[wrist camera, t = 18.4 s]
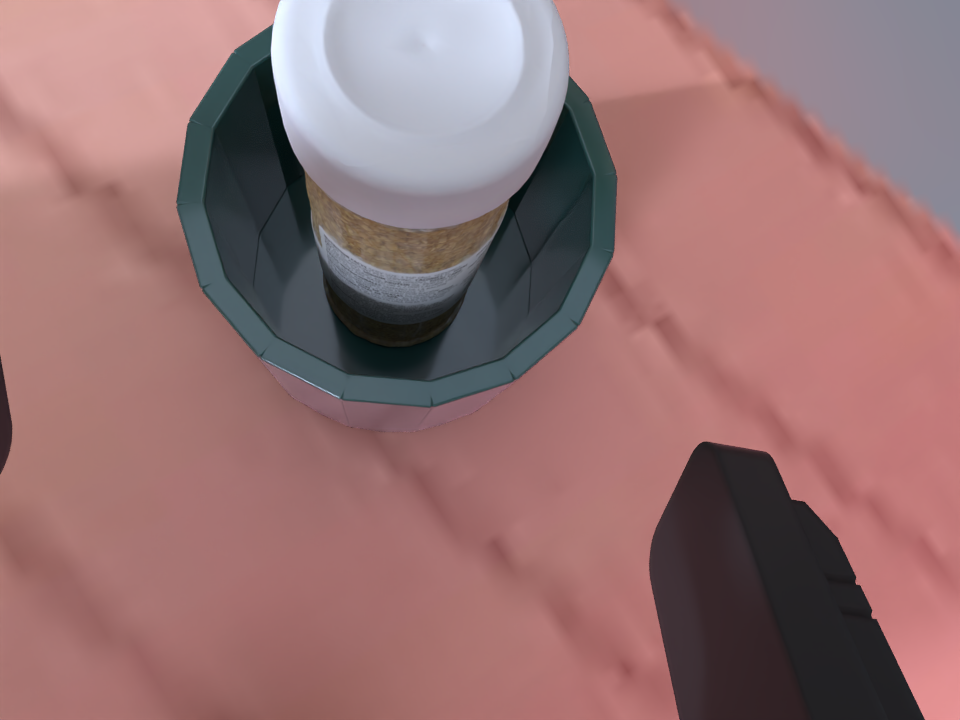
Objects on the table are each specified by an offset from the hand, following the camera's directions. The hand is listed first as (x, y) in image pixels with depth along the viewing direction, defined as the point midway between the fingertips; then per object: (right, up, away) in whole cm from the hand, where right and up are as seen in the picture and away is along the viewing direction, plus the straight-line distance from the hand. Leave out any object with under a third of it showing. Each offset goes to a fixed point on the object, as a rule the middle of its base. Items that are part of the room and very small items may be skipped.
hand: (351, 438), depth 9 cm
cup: (-1, +3, +16) cm, 17 cm away
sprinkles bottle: (-1, +3, +16) cm, 16 cm away
